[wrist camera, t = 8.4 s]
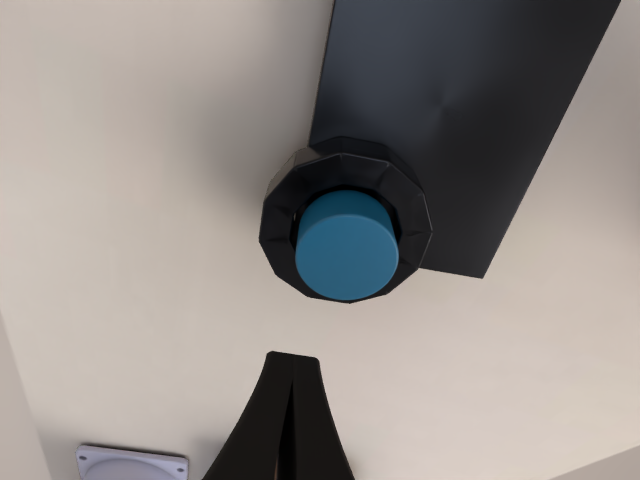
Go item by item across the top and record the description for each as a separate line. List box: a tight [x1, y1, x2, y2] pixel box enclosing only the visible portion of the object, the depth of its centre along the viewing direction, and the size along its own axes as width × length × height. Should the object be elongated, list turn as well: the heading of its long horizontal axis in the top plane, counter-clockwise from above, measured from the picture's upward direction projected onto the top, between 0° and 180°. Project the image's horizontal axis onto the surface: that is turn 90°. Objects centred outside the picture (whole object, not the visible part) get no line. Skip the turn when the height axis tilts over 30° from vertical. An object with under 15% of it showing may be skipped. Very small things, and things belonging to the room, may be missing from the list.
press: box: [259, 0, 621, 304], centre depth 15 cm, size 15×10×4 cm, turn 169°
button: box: [295, 190, 399, 300], centre depth 15 cm, size 4×4×2 cm
